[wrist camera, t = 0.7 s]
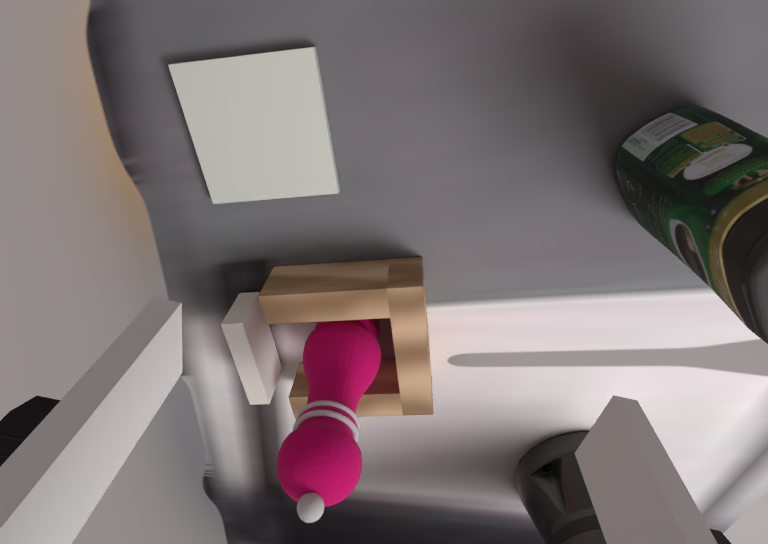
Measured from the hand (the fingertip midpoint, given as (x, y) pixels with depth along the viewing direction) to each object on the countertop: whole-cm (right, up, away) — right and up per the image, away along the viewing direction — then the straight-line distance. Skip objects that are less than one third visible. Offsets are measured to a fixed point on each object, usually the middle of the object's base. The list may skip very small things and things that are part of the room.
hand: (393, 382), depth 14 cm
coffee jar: (+22, +12, +22) cm, 33 cm away
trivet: (-10, +15, +22) cm, 29 cm away
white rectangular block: (-13, -3, +33) cm, 35 cm away
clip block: (-4, -2, +32) cm, 32 cm away
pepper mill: (-4, -2, +32) cm, 33 cm away
